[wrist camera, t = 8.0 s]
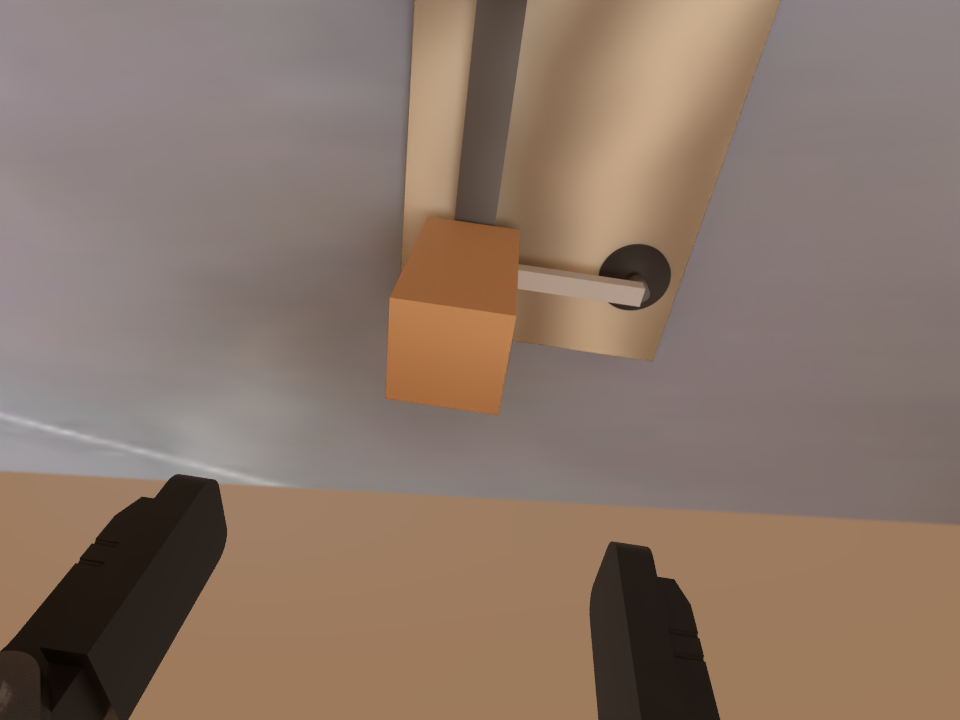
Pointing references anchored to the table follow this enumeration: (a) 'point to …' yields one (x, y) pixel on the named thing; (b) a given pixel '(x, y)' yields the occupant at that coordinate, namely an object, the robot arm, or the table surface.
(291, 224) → the table surface
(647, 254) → the pitch plate
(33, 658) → the robot arm
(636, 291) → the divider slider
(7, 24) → the table surface
